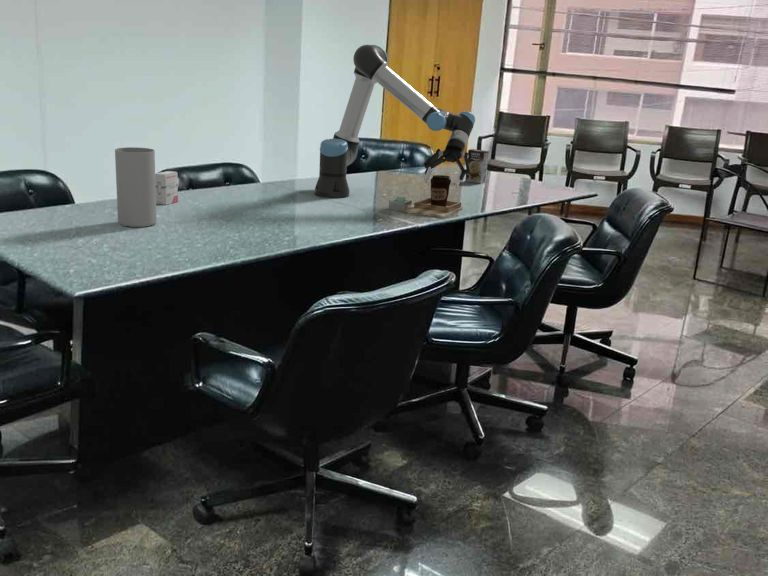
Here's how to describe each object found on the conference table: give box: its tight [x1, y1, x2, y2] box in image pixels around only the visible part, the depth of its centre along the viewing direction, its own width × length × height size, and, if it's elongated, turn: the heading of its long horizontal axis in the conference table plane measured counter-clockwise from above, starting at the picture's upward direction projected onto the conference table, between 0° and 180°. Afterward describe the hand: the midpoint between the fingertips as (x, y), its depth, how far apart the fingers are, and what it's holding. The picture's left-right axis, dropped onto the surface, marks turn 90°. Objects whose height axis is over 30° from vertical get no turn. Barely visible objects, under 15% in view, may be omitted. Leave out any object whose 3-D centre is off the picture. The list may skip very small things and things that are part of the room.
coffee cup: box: [430, 174, 452, 207], centre depth 314 cm, size 9×8×13 cm
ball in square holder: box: [388, 197, 413, 212], centre depth 313 cm, size 7×7×4 cm
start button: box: [395, 196, 406, 202], centre depth 313 cm, size 4×4×4 cm
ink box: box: [155, 170, 179, 206], centre depth 296 cm, size 9×5×12 cm, turn 160°
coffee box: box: [464, 148, 490, 185], centre depth 390 cm, size 9×6×16 cm
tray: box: [401, 197, 463, 219], centre depth 314 cm, size 18×22×3 cm
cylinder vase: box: [114, 146, 158, 228], centre depth 258 cm, size 12×12×25 cm
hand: (440, 183), depth 315 cm, fingers open, 13 cm apart
